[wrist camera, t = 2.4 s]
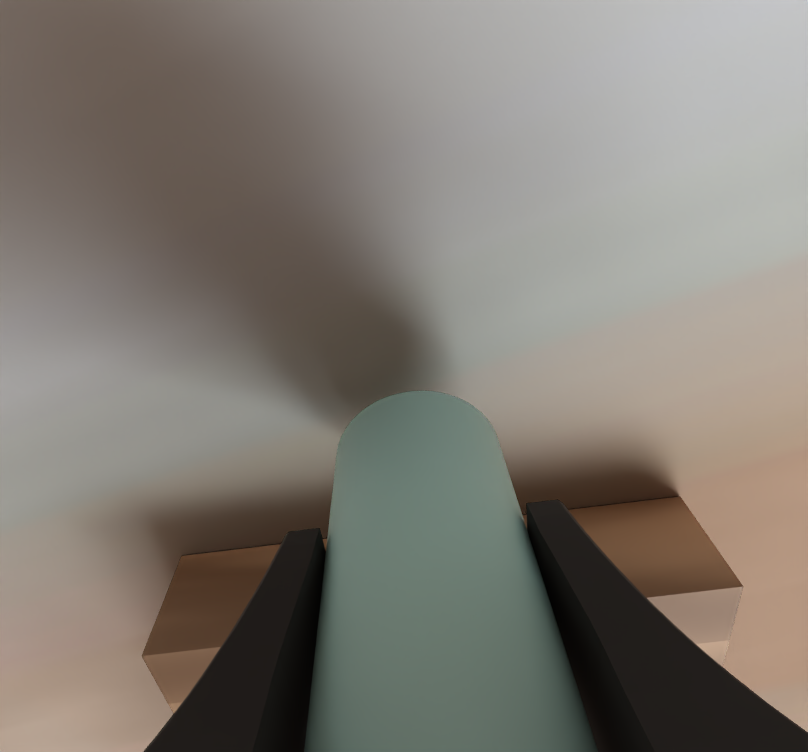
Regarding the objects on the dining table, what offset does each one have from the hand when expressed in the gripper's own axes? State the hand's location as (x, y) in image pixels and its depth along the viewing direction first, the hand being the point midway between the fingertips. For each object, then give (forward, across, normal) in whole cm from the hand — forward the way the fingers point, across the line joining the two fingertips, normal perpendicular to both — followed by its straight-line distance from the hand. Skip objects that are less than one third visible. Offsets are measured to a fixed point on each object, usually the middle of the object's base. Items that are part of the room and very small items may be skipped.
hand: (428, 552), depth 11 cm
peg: (+3, 0, 0) cm, 3 cm away
